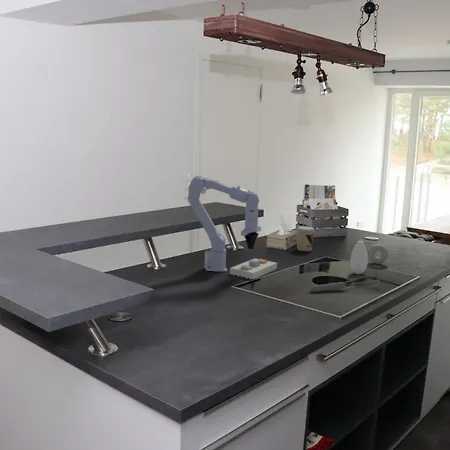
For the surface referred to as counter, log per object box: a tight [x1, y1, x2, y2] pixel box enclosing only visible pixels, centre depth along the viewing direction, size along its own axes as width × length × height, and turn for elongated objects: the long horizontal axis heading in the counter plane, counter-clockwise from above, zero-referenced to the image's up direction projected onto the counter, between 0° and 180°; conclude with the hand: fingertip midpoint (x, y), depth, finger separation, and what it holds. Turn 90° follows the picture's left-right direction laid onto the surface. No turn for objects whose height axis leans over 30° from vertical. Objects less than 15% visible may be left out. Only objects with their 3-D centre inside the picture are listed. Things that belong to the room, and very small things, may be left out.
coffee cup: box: [296, 225, 316, 252], centre depth 293 cm, size 9×9×12 cm
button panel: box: [229, 258, 278, 280], centre depth 248 cm, size 22×12×3 cm, turn 147°
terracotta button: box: [257, 258, 268, 264], centre depth 253 cm, size 4×4×3 cm
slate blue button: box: [248, 259, 260, 267], centre depth 247 cm, size 4×4×3 cm
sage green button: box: [241, 265, 252, 270], centre depth 242 cm, size 4×4×3 cm
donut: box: [367, 243, 389, 265], centre depth 269 cm, size 10×3×10 cm, turn 65°
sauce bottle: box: [349, 236, 369, 275], centre depth 250 cm, size 8×8×18 cm
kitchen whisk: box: [306, 273, 380, 294], centre depth 226 cm, size 6×34×6 cm, turn 108°
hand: (250, 248), depth 247 cm, fingers closed
